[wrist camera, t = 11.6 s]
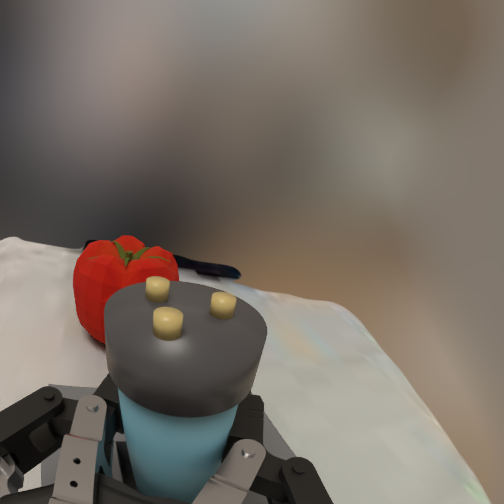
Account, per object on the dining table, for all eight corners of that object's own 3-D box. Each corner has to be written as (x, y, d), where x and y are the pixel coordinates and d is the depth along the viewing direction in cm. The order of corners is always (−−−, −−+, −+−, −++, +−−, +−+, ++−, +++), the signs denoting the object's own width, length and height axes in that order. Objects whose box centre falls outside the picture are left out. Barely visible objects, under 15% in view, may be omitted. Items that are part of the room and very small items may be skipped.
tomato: (184, 367, 27) (196, 274, 24) (62, 356, 22) (52, 258, 19) (174, 307, 39) (182, 236, 36) (86, 298, 34) (87, 225, 32)
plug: (143, 525, 8) (99, 346, 5) (126, 459, 13) (107, 261, 9) (229, 513, 11) (304, 337, 7) (200, 453, 15) (234, 269, 12)
